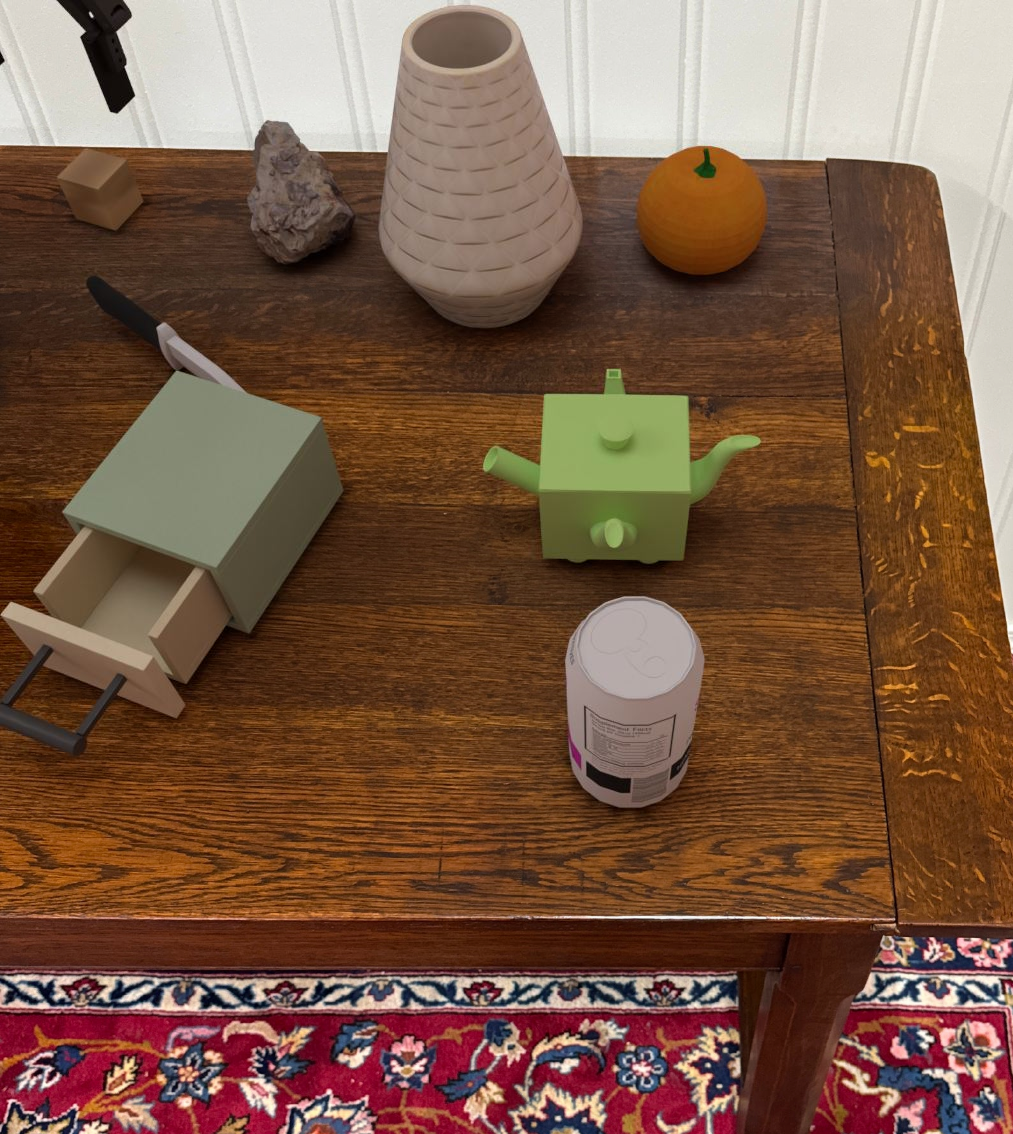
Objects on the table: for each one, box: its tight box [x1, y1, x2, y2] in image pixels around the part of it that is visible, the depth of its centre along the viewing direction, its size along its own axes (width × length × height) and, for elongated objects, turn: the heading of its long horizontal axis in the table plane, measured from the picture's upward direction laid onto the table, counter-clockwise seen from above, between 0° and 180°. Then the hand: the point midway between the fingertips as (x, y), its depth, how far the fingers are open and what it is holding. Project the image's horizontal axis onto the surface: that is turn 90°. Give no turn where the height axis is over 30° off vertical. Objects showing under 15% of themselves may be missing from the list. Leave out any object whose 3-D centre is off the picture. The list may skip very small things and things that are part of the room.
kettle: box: [482, 368, 762, 564], centre depth 84 cm, size 15×14×11 cm
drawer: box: [0, 526, 233, 758], centre depth 80 cm, size 20×11×7 cm, turn 157°
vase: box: [377, 4, 584, 329], centre depth 93 cm, size 17×17×23 cm
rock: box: [246, 119, 357, 265], centre depth 103 cm, size 9×12×10 cm
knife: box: [85, 275, 247, 393], centre depth 95 cm, size 25×2×5 cm, turn 50°
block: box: [56, 147, 144, 232], centre depth 107 cm, size 5×5×5 cm
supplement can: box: [564, 595, 706, 808], centre depth 72 cm, size 8×8×15 cm
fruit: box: [636, 145, 768, 276], centre depth 101 cm, size 12×12×10 cm
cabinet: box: [61, 370, 344, 634], centre depth 85 cm, size 15×13×9 cm
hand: (56, 86), depth 98 cm, fingers open, 13 cm apart
